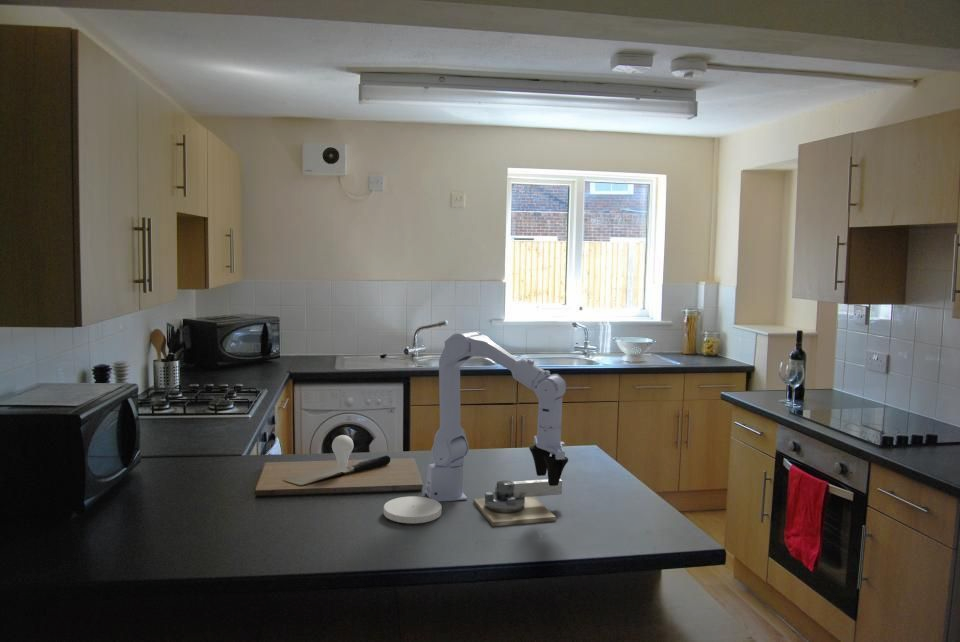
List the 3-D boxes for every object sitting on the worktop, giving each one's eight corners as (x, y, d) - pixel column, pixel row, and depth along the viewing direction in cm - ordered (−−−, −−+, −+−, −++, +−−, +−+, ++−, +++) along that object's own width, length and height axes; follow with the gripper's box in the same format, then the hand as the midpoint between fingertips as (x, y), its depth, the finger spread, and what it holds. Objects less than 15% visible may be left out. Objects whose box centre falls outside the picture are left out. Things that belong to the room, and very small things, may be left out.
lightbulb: (341, 477, 197) (342, 439, 196) (327, 473, 201) (327, 435, 200) (357, 472, 202) (358, 435, 201) (343, 468, 206) (343, 431, 205)
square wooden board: (492, 526, 166) (493, 520, 166) (472, 501, 182) (472, 496, 181) (555, 520, 170) (555, 515, 170) (530, 497, 186) (530, 492, 186)
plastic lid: (448, 510, 176) (449, 500, 176) (429, 530, 162) (430, 520, 162) (396, 503, 180) (397, 493, 179) (374, 522, 166) (374, 512, 166)
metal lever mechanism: (491, 514, 170) (492, 491, 169) (479, 500, 179) (480, 478, 179) (567, 508, 176) (568, 485, 175) (552, 494, 185) (553, 473, 184)
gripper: (577, 432, 164) (575, 488, 165) (552, 417, 178) (550, 470, 179) (549, 433, 162) (547, 490, 163) (526, 418, 176) (524, 471, 177)
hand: (547, 480), depth 171 cm, fingers open, 7 cm apart
